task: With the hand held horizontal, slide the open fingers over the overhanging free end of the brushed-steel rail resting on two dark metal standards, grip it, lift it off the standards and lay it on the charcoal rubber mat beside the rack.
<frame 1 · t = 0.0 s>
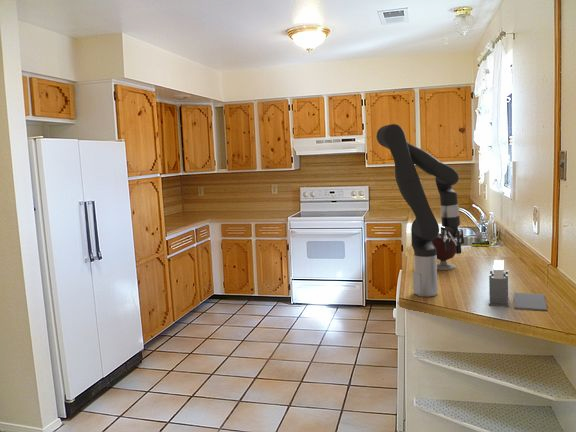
hand: (453, 251, 215), 17 cm above the worktop, tool pointing down, fingers open, 8 cm apart
rail: (498, 273, 198), point 11 cm above the worktop, touching rack
mat: (529, 301, 195), on the worktop
rack: (499, 300, 199), on the worktop
mate gourd: (442, 267, 261), on the worktop
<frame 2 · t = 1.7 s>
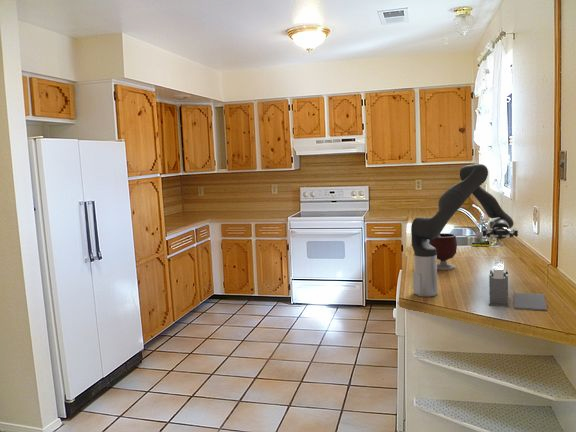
hand: (499, 235, 212), 24 cm above the worktop, tool horizontal, fingers open, 8 cm apart
nothing on the worktop moved.
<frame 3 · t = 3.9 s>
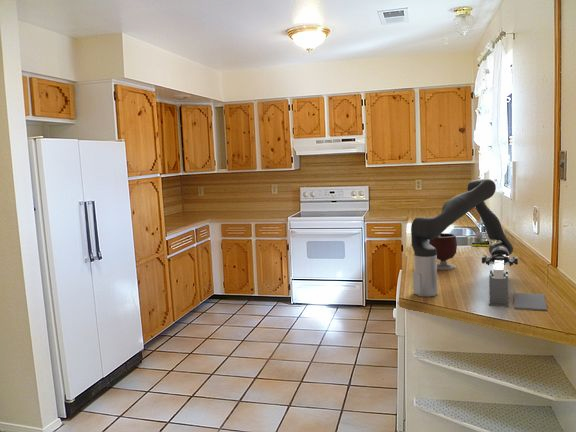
hand: (499, 263, 208), 13 cm above the worktop, tool horizontal, fingers open, 8 cm apart
nothing on the worktop moved.
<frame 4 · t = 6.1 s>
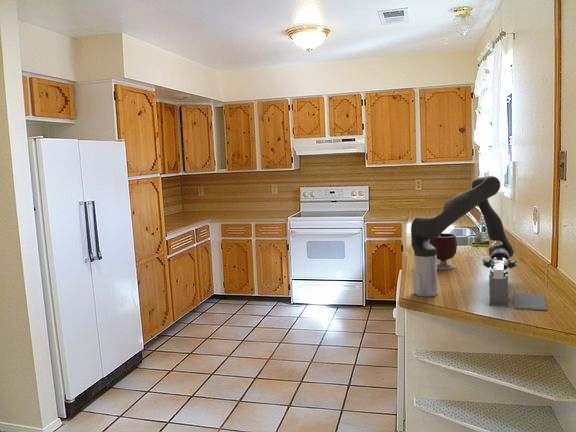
hand: (499, 267, 201), 13 cm above the worktop, tool horizontal, fingers closed on rail, 3 cm apart
rail: (498, 273, 198), point 11 cm above the worktop, touching gripper, rack
everything else where it was.
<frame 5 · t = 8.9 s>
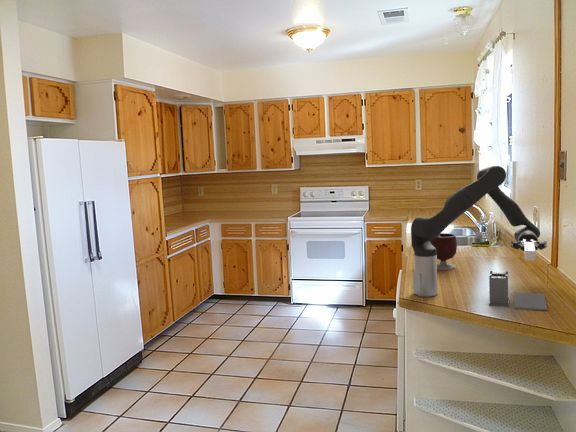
hand: (529, 248, 195), 21 cm above the worktop, tool horizontal, fingers closed on rail, 3 cm apart
rail: (529, 254, 193), point 19 cm above the worktop, touching gripper
everything else where it was.
when the fingers open (6 cm above the worktop, at t = 11.8 s): rail drops 2 cm, resting on mat.
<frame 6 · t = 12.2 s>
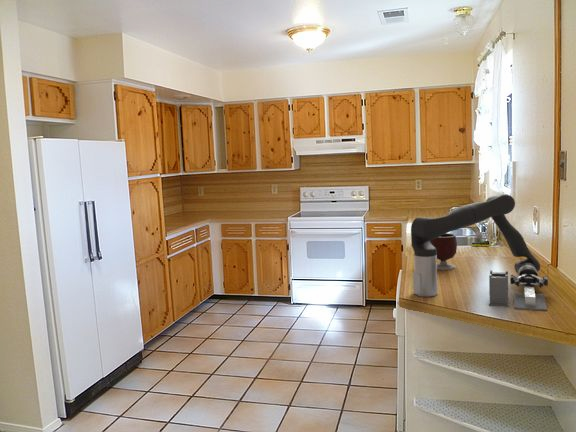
hand: (529, 284, 198), 6 cm above the worktop, tool horizontal, fingers open, 7 cm apart
rail: (529, 299, 196), point 1 cm above the worktop, touching mat
everything else where it was.
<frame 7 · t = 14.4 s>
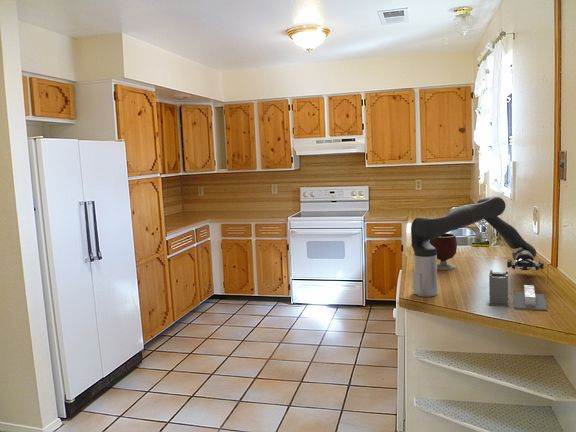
hand: (525, 267, 210), 10 cm above the worktop, tool horizontal, fingers open, 8 cm apart
nothing on the worktop moved.
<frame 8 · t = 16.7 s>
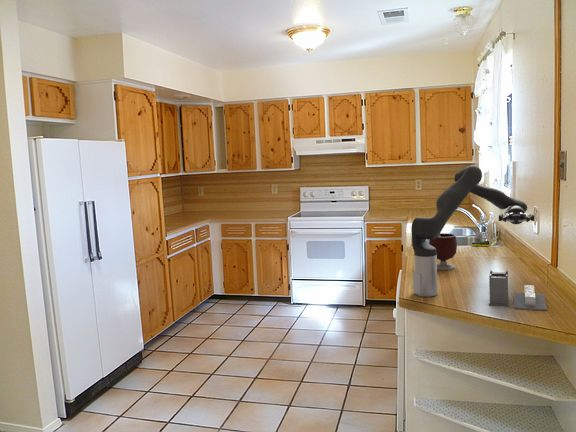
hand: (516, 219, 212), 30 cm above the worktop, tool horizontal, fingers open, 8 cm apart
nothing on the worktop moved.
at the end: rail inside the target area on the mat (1.5 cm from its centre), point 0.6 cm above the mat's base; rail touching mat; the gripper is holding nothing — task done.
